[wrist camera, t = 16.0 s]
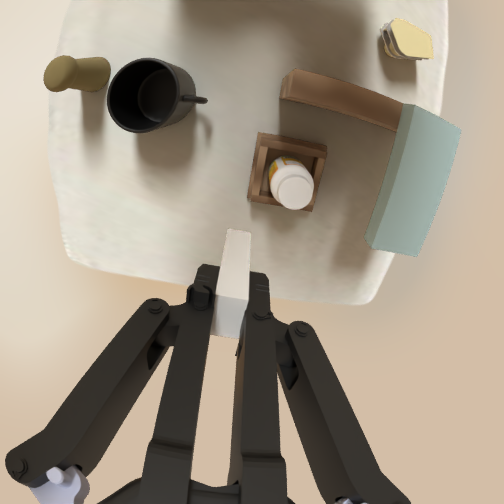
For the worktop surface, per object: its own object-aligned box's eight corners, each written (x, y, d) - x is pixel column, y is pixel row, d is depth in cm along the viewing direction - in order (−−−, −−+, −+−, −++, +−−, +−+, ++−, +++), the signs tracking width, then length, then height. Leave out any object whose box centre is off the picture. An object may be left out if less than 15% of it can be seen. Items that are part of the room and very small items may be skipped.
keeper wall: (282, 79, 32) (295, 68, 22) (401, 115, 34) (448, 126, 23) (279, 98, 34) (289, 96, 23) (397, 132, 35) (443, 148, 24)
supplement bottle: (278, 196, 41) (285, 223, 32) (261, 165, 38) (262, 185, 30) (310, 179, 39) (326, 203, 31) (294, 148, 37) (306, 162, 28)
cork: (112, 86, 32) (71, 86, 22) (81, 96, 32) (38, 102, 23) (109, 52, 29) (69, 44, 19) (79, 64, 29) (36, 62, 20)
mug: (206, 132, 36) (192, 141, 29) (131, 122, 35) (102, 130, 27) (220, 71, 32) (210, 62, 24) (141, 64, 30) (113, 57, 23)
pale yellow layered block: (418, 27, 25) (436, 22, 21) (423, 75, 30) (442, 74, 25) (363, 14, 26) (377, 4, 21) (369, 64, 30) (384, 60, 26)
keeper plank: (403, 103, 22) (415, 104, 20) (448, 126, 23) (461, 129, 21) (363, 237, 31) (370, 248, 29) (408, 246, 31) (416, 257, 29)
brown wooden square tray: (258, 132, 36) (258, 134, 34) (325, 145, 37) (331, 149, 34) (247, 196, 42) (246, 203, 39) (310, 206, 42) (314, 215, 39)
